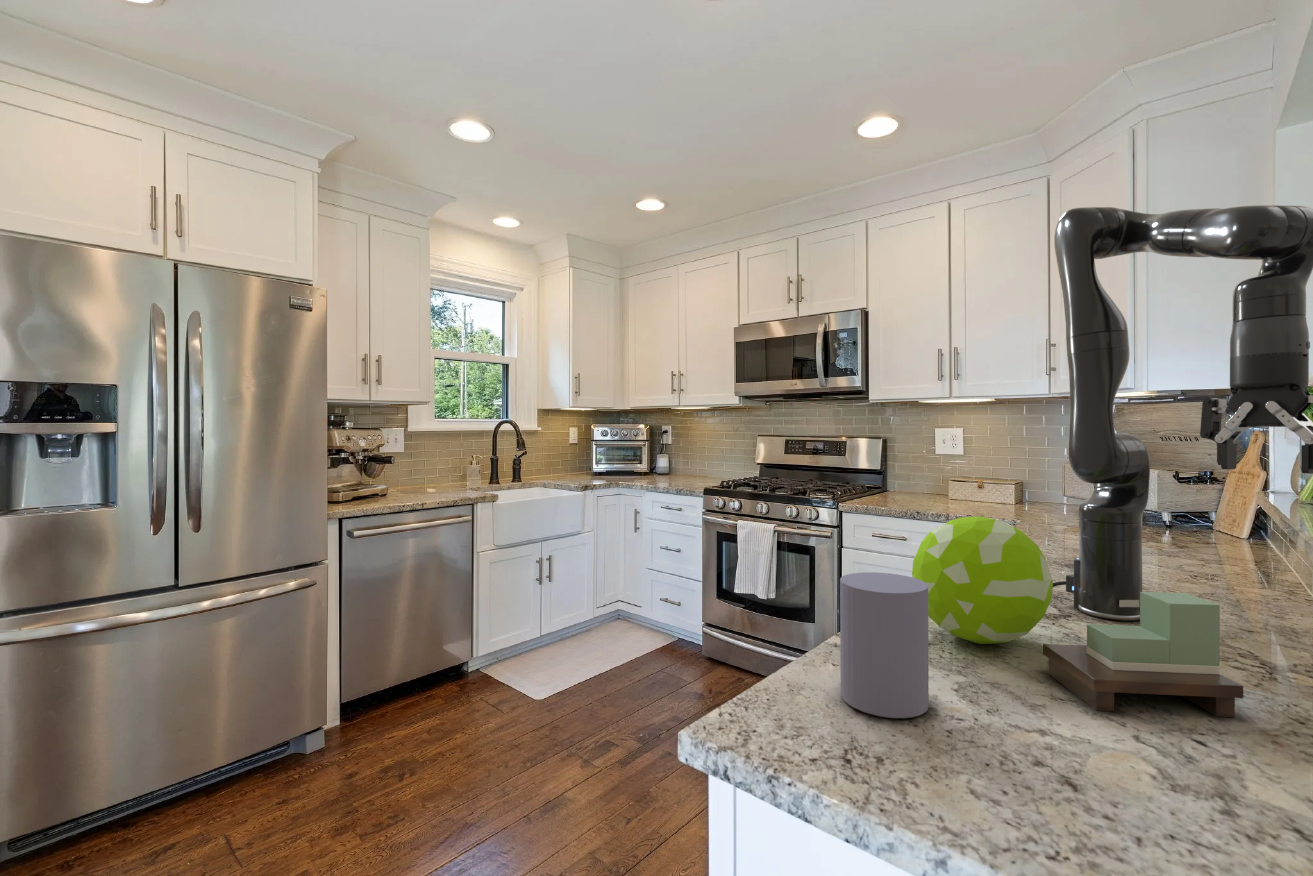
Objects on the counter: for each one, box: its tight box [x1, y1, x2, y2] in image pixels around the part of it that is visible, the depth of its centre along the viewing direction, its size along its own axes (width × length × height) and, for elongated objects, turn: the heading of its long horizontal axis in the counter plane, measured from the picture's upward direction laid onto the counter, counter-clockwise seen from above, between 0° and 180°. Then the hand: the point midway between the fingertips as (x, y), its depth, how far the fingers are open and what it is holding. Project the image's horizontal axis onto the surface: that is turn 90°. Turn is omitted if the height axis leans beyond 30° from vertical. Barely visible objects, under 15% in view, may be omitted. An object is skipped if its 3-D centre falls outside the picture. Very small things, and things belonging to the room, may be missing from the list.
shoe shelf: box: [1042, 643, 1244, 718], centre depth 76 cm, size 16×12×4 cm
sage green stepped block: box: [1086, 591, 1221, 675], centre depth 75 cm, size 12×6×8 cm, turn 83°
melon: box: [911, 515, 1054, 645], centre depth 96 cm, size 20×25×20 cm
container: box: [839, 571, 930, 719], centre depth 74 cm, size 10×10×15 cm
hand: (1267, 471), depth 81 cm, fingers open, 8 cm apart
